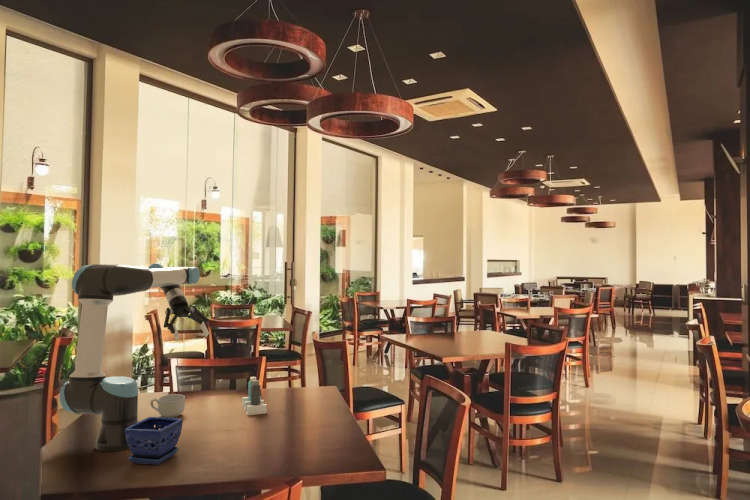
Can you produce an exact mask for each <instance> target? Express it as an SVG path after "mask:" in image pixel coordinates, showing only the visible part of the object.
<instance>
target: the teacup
mask: <svg viewBox="0 0 750 500" xmlns="http://www.w3.org/2000/svg"><path fill="white" fill-rule="evenodd" d="M185 400H186V396H185V395H184V394H179V393H177V394H176V393H174V394H173V393H171V394H165V395H162V396H160V397H158V398H155V397H154V398H152V400H151V399H150V402H149V404H150V407H151V408H152V409H153V410H156V411H157V412H158V414H159V415H160V417H164V418H177V417H180V416H181V415H182V414H183V413H184V411H185V407H186V406H185V405H186V404H185V403H186V401H185ZM154 402H157V405H158V407H157V406H156V405H154Z"/></svg>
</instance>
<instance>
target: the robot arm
mask: <svg viewBox="0 0 750 500" xmlns="http://www.w3.org/2000/svg"><path fill="white" fill-rule="evenodd" d="M200 275H201V273H200V270H199V268H198V267H196V266H164V265H162V264H160V263H157V262H155V263H152V264H150V265H149V266H148V267H145V266H137V265H135V266H133V265H128V264H100V263H99V264H89V265H87V264H86V265H82V266H81V267H79V269H77V270H76V272H75V273H74V274H73V277H72V281H71V287H72V289H73V292H74V294H75V295H77V300H78V302H79V303H80V304H81V309H80V310H81V311H80V321H79V329H78V337H77V338H78V339H77V350H76V358H75V365H74V366H75V367H74V368H75V369H74V371H73V372H72V373H71V374H70V375H69V377H68V379H69V380H67V381H65V382H64V383H63V385H62V386H61V388H60V391H59V402H60V405H61V407H62V408H63V409H64V410H65V411H66V412H68V413H72V414H76V415H83V414H87V415H88V414H89V415H101V417H100V419H101V420H100V421H101V422H100V423H101V425H100V427H99V431H98V434H97V436H96V440H95V449H96V451H99V452H100V451H101V452H106V453H108V452H109V453H111V452H119V451H120V452H121V451H126V450H130V449H129V446H128V444H127V441H126V436H125V429H126V428H128V427H130V426H132V425H134V424H136V423H138V422H139V420H138V415H139V414H138V411H139V409H138V406H139V405H138V400H139V399H138V398H139V396H138V394H139V388H138V382H137V380H136V379H134V378H132V377H129V376H124V375H123V376H122V375H121V376H108V377H106V373H105V372H104V371H102V367H103V359H104V349H105V347H104V346H105V339H106V328H107V317H108V309H109V305H110V304H112V303H113V301H114V297H117V296H118V297H121V296H126V295H131V294H136V293H140V292H145V291H146V292H147V291H148V290H150V289H151V288H152V289H153V288H160V289H161V290H162V291H163V294H164V296H165V299H166V300H167V303H168V305H169V307H167V308H166V309H165V313H164V314H165V318H164V323H163V328H165V329H166V328H167V330H169V332H170V334H172V335H173V337H174V339H175V341H178V340H179V339H180V336H181V335H180V334H179V332H178V329H177V326H176V325H175V322H176V320H177V319H178V318H179V319H181V318H188V319H191V320H193V321H194V322H196V323H198V324H199V325H200V328H201V330H202V332H203V333H202V334H203V335H204V337H205V338H207V337H208V335H210V332H209V330H208V323H209V318H208V317H207V316H206V315H205V314H203V313H202V312H201V311H200V310H199V309H198V308H197V306H196V305H194V306H192V307H190V306H189V303H188V301H187V298H186V297H185V294H184V292H183V289H182V287H181V285H192V284H193V285H194V284H197V283H199V281H200V277H201V276H200ZM172 314H173V315H174V316H173V317H172V319H171V321H170V317H171V315H172ZM169 321H170V322H169ZM137 441H138V440H137Z"/></svg>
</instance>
